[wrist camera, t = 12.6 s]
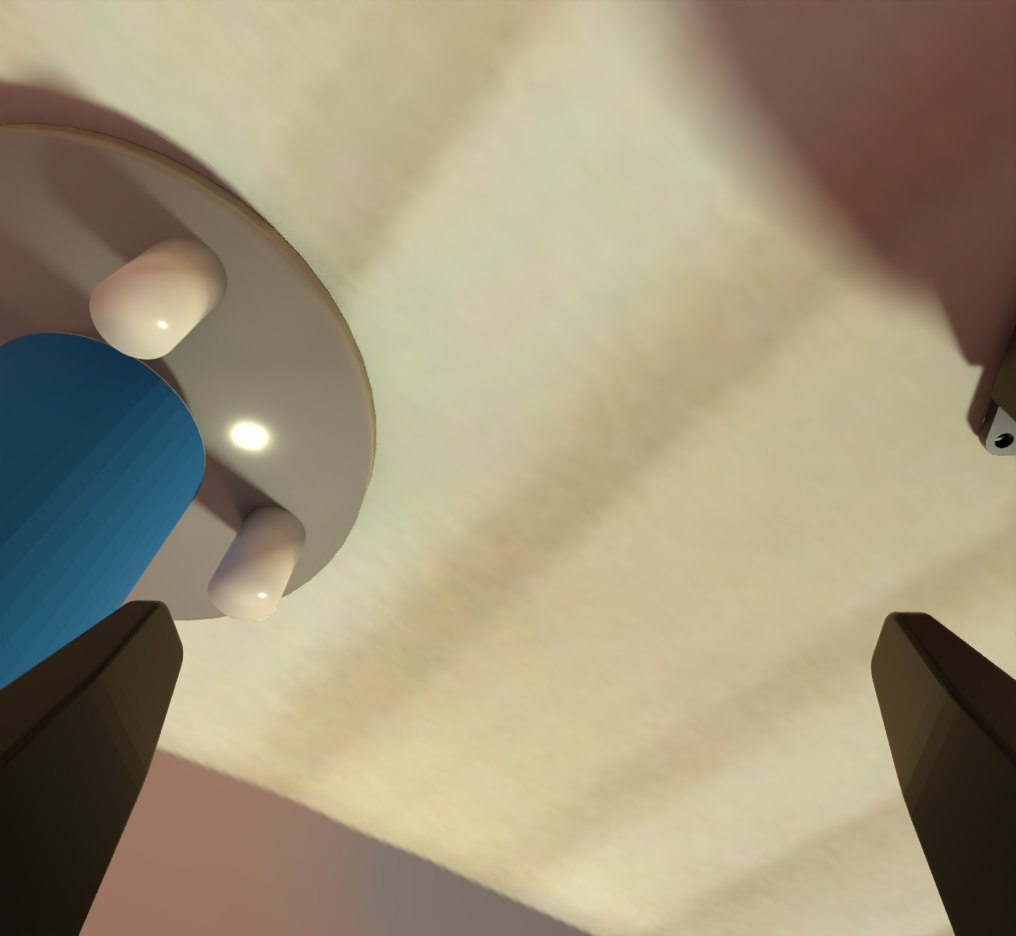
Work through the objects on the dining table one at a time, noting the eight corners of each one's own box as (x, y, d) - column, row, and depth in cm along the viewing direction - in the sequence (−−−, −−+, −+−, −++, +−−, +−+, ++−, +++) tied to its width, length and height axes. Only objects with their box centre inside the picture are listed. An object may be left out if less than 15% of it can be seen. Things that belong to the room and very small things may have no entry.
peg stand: (306, 92, 18) (246, 123, 15) (415, 589, 27) (394, 682, 23) (-287, 153, 20) (-468, 194, 16) (-3, 603, 29) (-81, 693, 25)
